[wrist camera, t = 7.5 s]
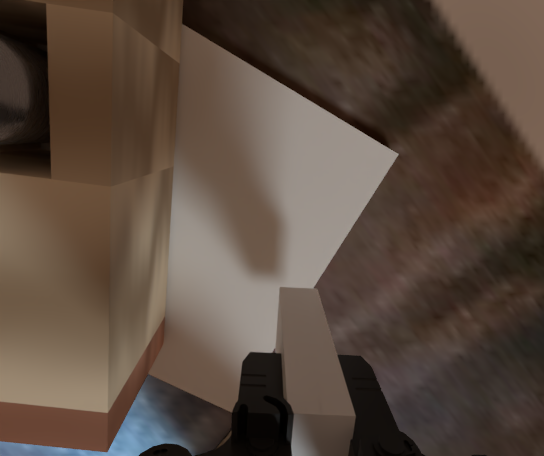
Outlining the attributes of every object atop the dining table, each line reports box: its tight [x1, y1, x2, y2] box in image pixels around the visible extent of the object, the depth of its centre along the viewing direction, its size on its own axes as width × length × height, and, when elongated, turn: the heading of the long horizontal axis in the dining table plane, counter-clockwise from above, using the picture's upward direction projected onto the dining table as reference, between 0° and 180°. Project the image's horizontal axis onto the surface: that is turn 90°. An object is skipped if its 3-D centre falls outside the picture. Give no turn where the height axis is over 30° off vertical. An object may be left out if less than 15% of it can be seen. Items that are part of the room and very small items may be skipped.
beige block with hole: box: [0, 0, 183, 452], centre depth 12 cm, size 16×7×6 cm, turn 173°
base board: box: [37, 24, 398, 413], centre depth 16 cm, size 22×15×1 cm
